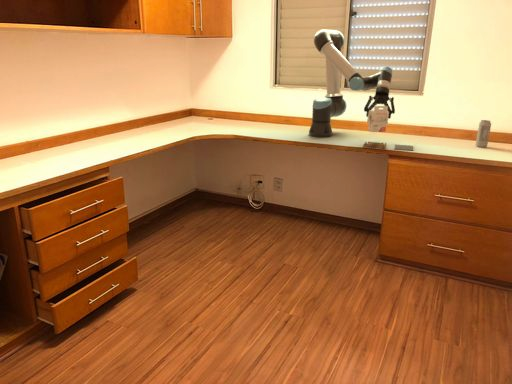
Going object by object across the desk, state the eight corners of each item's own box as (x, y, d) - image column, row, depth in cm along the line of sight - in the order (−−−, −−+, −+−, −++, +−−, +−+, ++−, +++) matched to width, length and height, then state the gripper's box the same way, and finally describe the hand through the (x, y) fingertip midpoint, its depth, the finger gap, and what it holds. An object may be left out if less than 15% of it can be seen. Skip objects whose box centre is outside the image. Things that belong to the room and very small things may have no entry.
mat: (394, 149, 238) (394, 148, 238) (395, 145, 249) (395, 144, 249) (413, 150, 235) (413, 150, 235) (413, 146, 246) (413, 145, 246)
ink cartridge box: (381, 130, 247) (384, 104, 242) (385, 132, 242) (388, 106, 237) (367, 130, 245) (370, 104, 240) (371, 132, 241) (374, 106, 236)
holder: (362, 147, 242) (363, 143, 241) (365, 143, 254) (365, 139, 253) (385, 149, 238) (385, 144, 237) (386, 144, 250) (386, 140, 249)
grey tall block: (485, 145, 248) (490, 120, 243) (488, 148, 242) (492, 121, 238) (474, 145, 249) (478, 119, 245) (476, 147, 244) (481, 121, 239)
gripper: (402, 95, 248) (397, 127, 239) (363, 93, 254) (357, 124, 246) (403, 87, 241) (398, 119, 232) (363, 84, 248) (357, 116, 239)
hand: (377, 121), depth 239 cm, fingers closed on ink cartridge box, 9 cm apart
